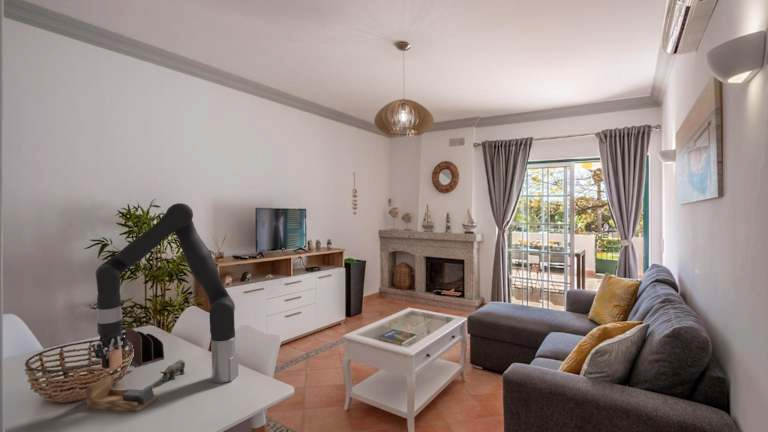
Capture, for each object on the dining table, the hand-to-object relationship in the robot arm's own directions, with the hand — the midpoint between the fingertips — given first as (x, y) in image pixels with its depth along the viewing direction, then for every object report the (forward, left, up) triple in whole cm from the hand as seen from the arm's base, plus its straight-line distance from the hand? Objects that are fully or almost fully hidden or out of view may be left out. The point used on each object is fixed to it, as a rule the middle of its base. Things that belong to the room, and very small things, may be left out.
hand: (112, 364), depth 145 cm
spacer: (0, 0, -1) cm, 1 cm away
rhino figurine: (-9, -20, -15) cm, 26 cm away
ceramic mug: (+16, -21, -15) cm, 30 cm away
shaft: (-10, 0, -13) cm, 16 cm away
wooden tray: (-4, 0, -14) cm, 15 cm away
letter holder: (+18, -39, -15) cm, 45 cm away
